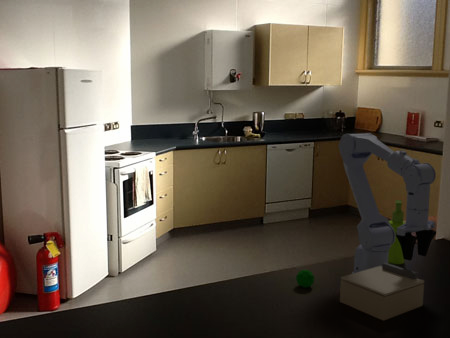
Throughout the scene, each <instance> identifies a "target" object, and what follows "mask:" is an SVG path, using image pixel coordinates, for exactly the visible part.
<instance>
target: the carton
mask: <svg viewBox="0 0 450 338" xmlns="http://www.w3.org/2000/svg"><path fill="white" fill-rule="evenodd" d="M339 288H340V289H339V290H340V292H339V302H340V303H342V304H345V305H347V306H349V307H352V308H353V309H355V310H358V311H360V312H362V313H364V314H368V315H369V316H372V317H374V318H377V319H379V320H381V321H386V320H389V319H391V318H395V317H397V316H400V315H402V314H405V313H408V312H410V311H412V310H415V309H418V308H420V307H423V304H424V291H425V283H422V284H419V285H416V286H413V287H410V288H407V289H404V290H401V291H398V292H395V293H392V294H390V295H387V296H384V295H381V294H379V293H376V292H373V291H371V290H368V289H366V288H363V287H361V286H358V285H355V284H353V283H350V282H348V281H345V280H342V279H340V286H339Z"/></svg>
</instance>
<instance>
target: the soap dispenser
mask: <svg viewBox="0 0 450 338" xmlns="http://www.w3.org/2000/svg"><path fill="white" fill-rule="evenodd" d="M402 204H403V200H398V199H396V200H395V210H393V211H392V217H391V218H392V219H390V220H388V221H389V224H390V225H391V226H392V228H393V229H394V231H395V235H396V233H397V227H400V226H402V225H403V224H405V223H406V221H404V216H405V214H404V213H405V212H404V211H403V210H402V206H403V205H402ZM405 260H406V259H404V258H403V253H402V249H401V245H400V243H399V240H398V239H397V237H396V238H395V242H394V243H393V244H392V245H391V248H390V249H389V254H388V264H391V265H403V264H405Z"/></svg>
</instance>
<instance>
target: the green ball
mask: <svg viewBox="0 0 450 338" xmlns="http://www.w3.org/2000/svg"><path fill="white" fill-rule="evenodd" d="M295 277H296V278H295V279H296V283H297V284H298V286H300V287H301V288H303V289H306V288H310V287H312V285H313V284H314V282H315V275H314V274H313V272H312V271H311V270H308V269H302V270H299V271H298V273H296V276H295Z"/></svg>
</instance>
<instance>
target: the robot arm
mask: <svg viewBox="0 0 450 338" xmlns="http://www.w3.org/2000/svg"><path fill="white" fill-rule="evenodd" d="M337 147H338V149H339V153H340V156H341V160H342V161H343V168H344V171H345V174H346V176H347V179H348V183H349V185H350V189H351V192H352V195H353V197H354V200H355V203H356V206H357V209H358V212H359V216H360V218H361V219H360V221H359V223H358V224H357V226H356V229H357V236H358V241H359V245H358V246H357V247H356V249H355V251H354V262H353V263H354V264H353V271H351V274H353V273H357V272H360V271H364V270H367V269H371V268H374V267H378V266H382V265H383V263H388V254H389V249H390V248H391V245H392V244H393V243H394V242H395V238H396V237H397V239H398V240H399V243H400V245H401V249H402V253H403V258H404V259H405V260H407V261H412V259H413V256H414V249H415V247H416V246H415V245H416V242H417V255H419V256H422V257H427V255H428V251H429V248H430V246H431V243H432V241H433V239H434V237H435V236H436V235H437V231H436V230H434V229H436V221H434V220H430V219H429V215H430V213H429V209H430V196H431V195H430V194H431V184H433V183H434V182H435V180H436V177H437V176H436V173H437V172H436V170H435V168H434V167H433V166H432V165H431V164H430V163H428V162H423V163H421V162H420V160H419V159H417V158H412V157H411V156H410V155H408V153H407V151H405V150H396V151H395V150H393V149H391V148H390V147H388V146H387V145H386V144H385V143H383V142H382V141H380V140H379V139H378V137H377V136H376V135H373V134H372V133H371V132H365V133H345V134H343V135H342V136H341V137H340V140H339V144H338V146H337ZM372 154H373V155H374V156H376V157H378V159H381V160H383V161H385V162H386V165H387V167H388V169H390V170H391V171H393V172H395V173H396V174H398V175H399V176H401V177H402V179H403V182H404V184H405V190H406V207H405V208H406V209H405V222H406V223H405V224H403V225H402V226H400V227H397V233H396V235H395V231H394V229H393V228H392V226H391V225H390V224H389V221H390V220H389V219H388V218H387V217H385V216H383V215H382V214H381V213H380V211H379V209H378V205H377V203H376V200H375V196H374V195H373V191H372V188H371V186H370V183H369V179H368V176H367V174H366V171H365V168H364V164H365V163H367V162H368V159H369V158H370V157H371V155H372ZM412 233H415V235H413V234H412ZM388 264H389V263H388Z"/></svg>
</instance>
